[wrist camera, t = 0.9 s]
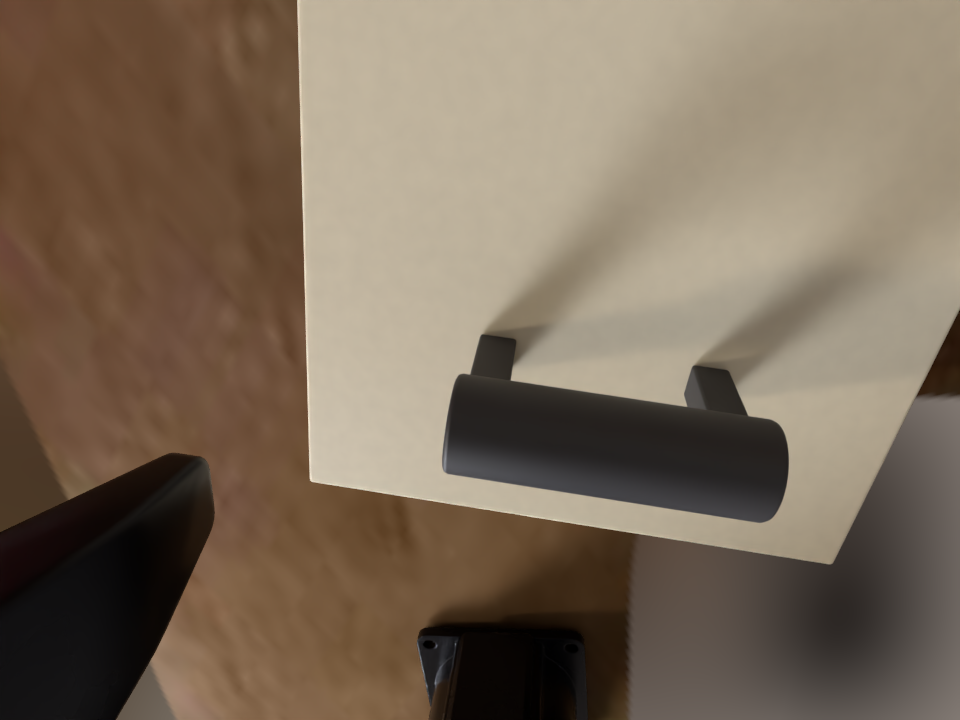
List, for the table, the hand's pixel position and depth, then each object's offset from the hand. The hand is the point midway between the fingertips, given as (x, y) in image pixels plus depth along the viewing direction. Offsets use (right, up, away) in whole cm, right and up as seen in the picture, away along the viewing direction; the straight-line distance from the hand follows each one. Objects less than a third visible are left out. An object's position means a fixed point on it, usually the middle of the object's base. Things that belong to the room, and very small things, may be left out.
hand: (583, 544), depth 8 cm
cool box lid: (+1, +5, +4) cm, 7 cm away
